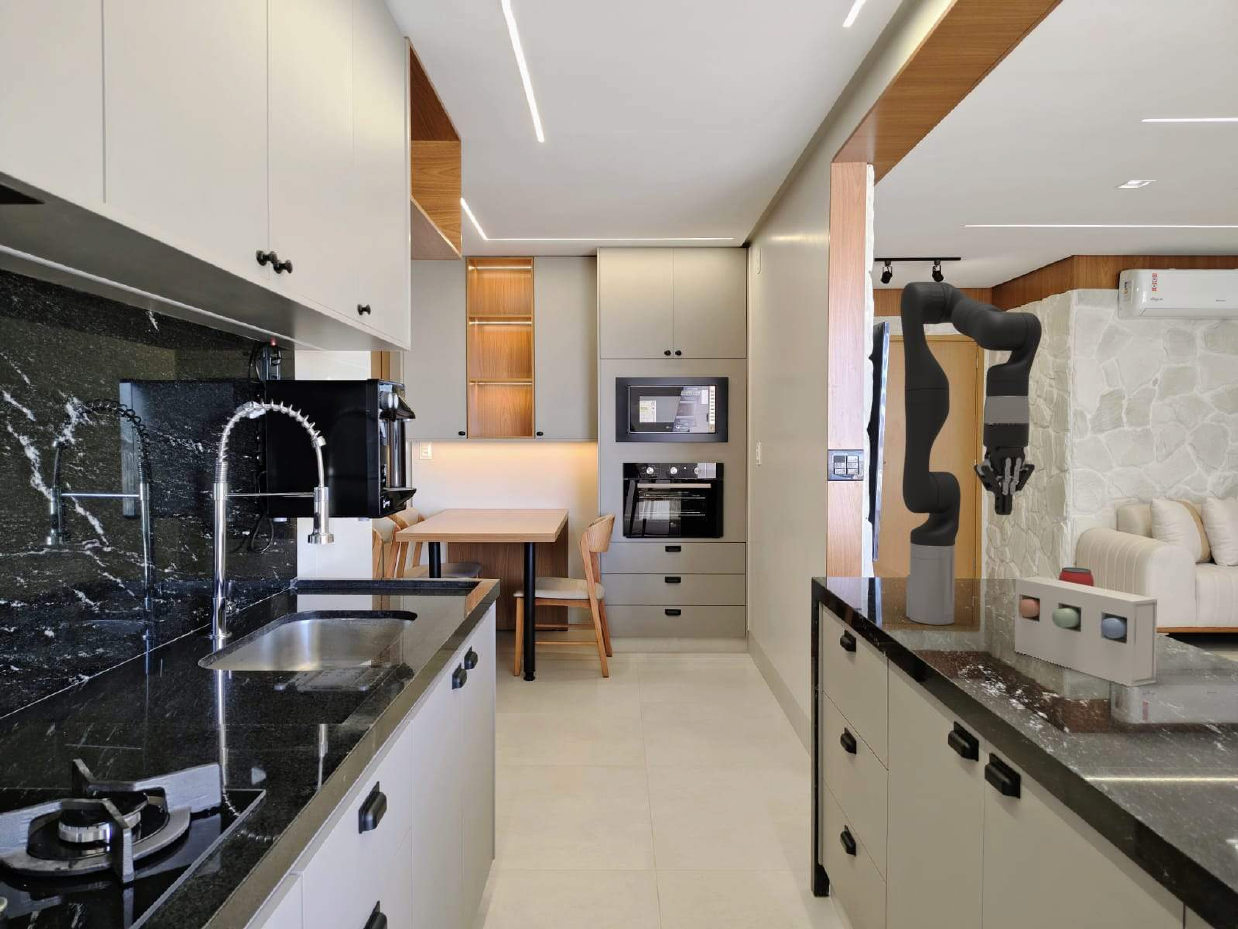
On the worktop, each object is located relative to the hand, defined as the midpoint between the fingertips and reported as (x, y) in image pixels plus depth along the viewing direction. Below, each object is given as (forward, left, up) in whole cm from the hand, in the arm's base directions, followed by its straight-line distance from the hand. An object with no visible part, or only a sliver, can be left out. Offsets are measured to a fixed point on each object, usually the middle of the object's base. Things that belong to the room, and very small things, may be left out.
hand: (1003, 514), depth 139 cm
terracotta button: (+2, +5, -19) cm, 20 cm away
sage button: (+10, +4, -19) cm, 22 cm away
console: (+10, +7, -26) cm, 29 cm away
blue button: (+18, +5, -19) cm, 27 cm away
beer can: (-12, +35, -27) cm, 46 cm away
